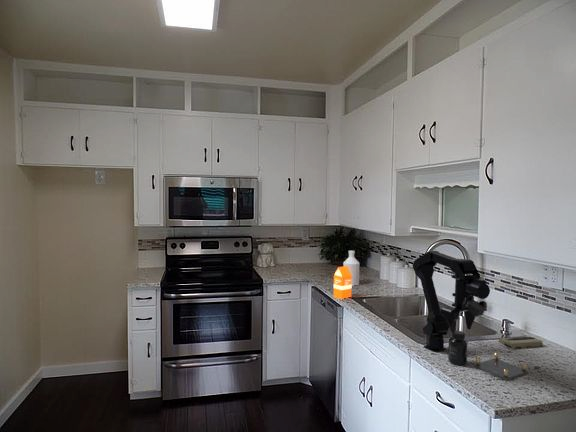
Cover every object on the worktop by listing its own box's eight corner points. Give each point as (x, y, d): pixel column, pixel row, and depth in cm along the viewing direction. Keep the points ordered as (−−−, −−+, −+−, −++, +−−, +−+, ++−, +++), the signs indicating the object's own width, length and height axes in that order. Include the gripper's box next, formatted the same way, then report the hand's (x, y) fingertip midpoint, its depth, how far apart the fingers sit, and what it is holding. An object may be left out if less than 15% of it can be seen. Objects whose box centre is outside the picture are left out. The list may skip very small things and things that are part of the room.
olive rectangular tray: (528, 340, 177) (528, 333, 176) (543, 347, 169) (543, 340, 168) (498, 343, 173) (498, 336, 173) (512, 350, 165) (512, 342, 165)
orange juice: (333, 296, 250) (333, 266, 249) (342, 294, 256) (343, 265, 255) (341, 299, 244) (342, 268, 243) (351, 297, 249) (352, 266, 248)
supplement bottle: (470, 365, 149) (471, 335, 148) (453, 366, 148) (454, 335, 148) (461, 358, 156) (462, 329, 155) (445, 358, 155) (445, 329, 155)
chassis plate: (474, 366, 148) (474, 357, 148) (495, 359, 154) (495, 351, 154) (506, 380, 137) (506, 371, 137) (528, 373, 143) (528, 364, 143)
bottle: (359, 286, 280) (359, 252, 279) (342, 285, 282) (343, 251, 281) (359, 282, 292) (359, 250, 291) (343, 282, 294) (343, 249, 293)
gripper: (465, 300, 138) (463, 342, 139) (497, 294, 147) (495, 333, 148) (439, 292, 148) (438, 332, 149) (471, 287, 157) (469, 324, 158)
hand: (461, 330), depth 151 cm, fingers open, 9 cm apart
